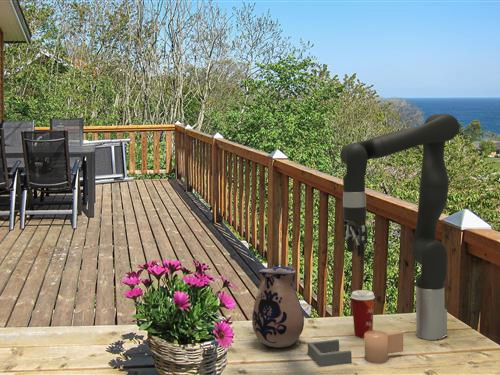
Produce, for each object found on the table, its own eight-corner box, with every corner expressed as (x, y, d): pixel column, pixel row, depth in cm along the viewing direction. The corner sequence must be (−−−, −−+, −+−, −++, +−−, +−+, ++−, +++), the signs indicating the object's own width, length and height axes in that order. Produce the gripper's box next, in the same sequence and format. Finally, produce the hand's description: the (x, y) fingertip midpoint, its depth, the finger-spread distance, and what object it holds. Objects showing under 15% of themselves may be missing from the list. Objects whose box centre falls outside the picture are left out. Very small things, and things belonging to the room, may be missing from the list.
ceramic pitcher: (244, 349, 194) (242, 275, 192) (267, 329, 214) (265, 261, 212) (295, 355, 188) (293, 278, 186) (314, 334, 207) (312, 263, 205)
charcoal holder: (337, 349, 191) (337, 339, 191) (351, 362, 180) (351, 351, 180) (307, 353, 189) (307, 342, 189) (320, 366, 178) (319, 355, 178)
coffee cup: (375, 339, 199) (375, 296, 198) (351, 338, 201) (350, 295, 200) (375, 331, 208) (374, 289, 206) (351, 330, 209) (351, 289, 208)
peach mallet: (396, 351, 188) (396, 327, 188) (408, 359, 182) (407, 333, 181) (360, 356, 185) (360, 332, 184) (371, 365, 178) (371, 339, 177)
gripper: (374, 206, 187) (375, 257, 189) (356, 202, 201) (357, 249, 202) (352, 208, 185) (353, 259, 187) (335, 203, 199) (336, 250, 201)
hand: (355, 253), depth 195 cm, fingers open, 8 cm apart
